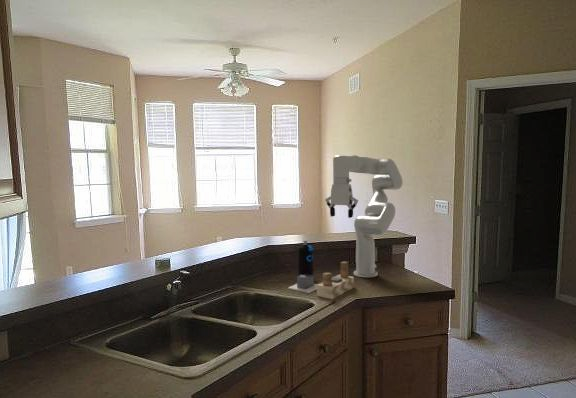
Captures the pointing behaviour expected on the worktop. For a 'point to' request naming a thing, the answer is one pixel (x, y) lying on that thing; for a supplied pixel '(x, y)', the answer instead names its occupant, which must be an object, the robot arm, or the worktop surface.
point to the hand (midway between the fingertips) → (341, 216)
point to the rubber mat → (304, 289)
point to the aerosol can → (305, 259)
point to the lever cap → (305, 281)
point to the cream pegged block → (335, 283)
